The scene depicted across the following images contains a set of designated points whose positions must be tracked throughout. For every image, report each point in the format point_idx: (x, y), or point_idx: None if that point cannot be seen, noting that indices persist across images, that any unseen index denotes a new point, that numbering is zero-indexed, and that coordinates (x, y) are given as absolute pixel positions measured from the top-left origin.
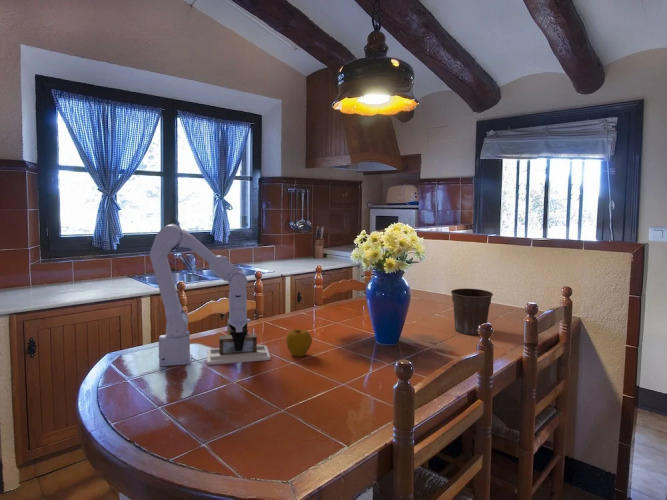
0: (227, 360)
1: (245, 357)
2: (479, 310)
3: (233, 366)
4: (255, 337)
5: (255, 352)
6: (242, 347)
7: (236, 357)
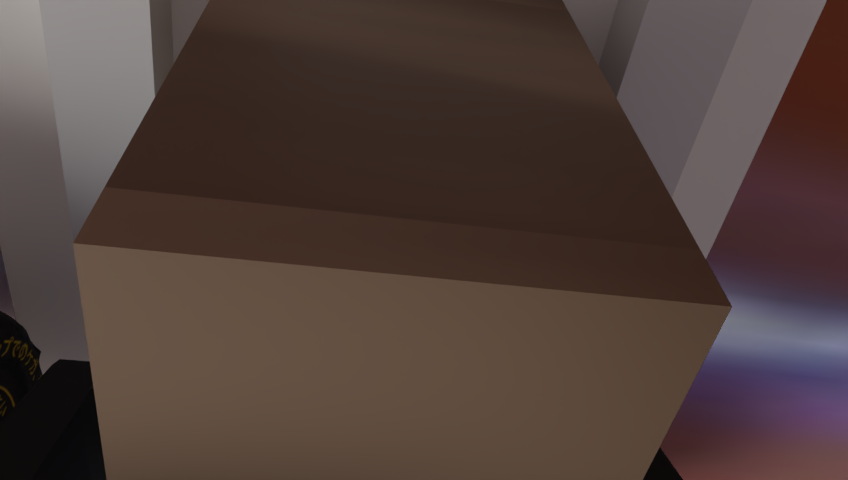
0: None
1: None
2: None
3: (755, 394)
4: (695, 327)
5: (639, 72)
6: (669, 464)
7: None
